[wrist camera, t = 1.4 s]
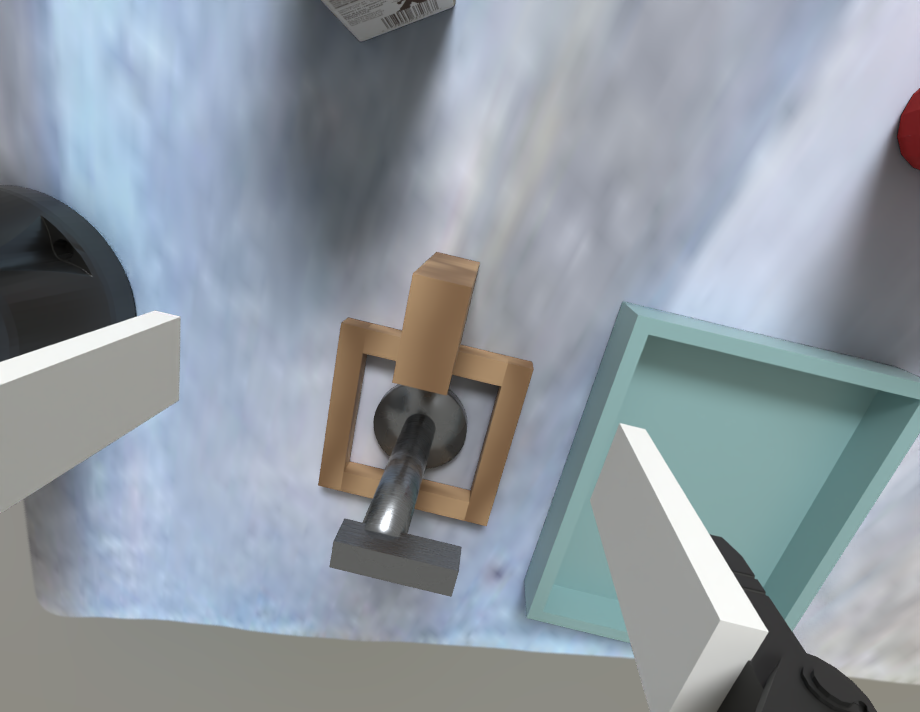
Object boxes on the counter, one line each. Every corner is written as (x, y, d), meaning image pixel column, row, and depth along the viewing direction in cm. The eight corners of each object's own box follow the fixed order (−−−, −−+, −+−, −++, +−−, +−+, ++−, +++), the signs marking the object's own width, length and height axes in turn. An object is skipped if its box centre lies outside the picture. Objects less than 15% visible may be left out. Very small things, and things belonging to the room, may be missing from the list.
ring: (324, 474, 38) (274, 554, 30) (360, 233, 32) (308, 248, 23) (486, 513, 38) (482, 605, 30) (556, 280, 31) (576, 312, 23)
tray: (524, 580, 40) (526, 617, 36) (622, 301, 32) (638, 314, 28) (740, 632, 40) (764, 675, 36) (896, 367, 31) (947, 389, 28)
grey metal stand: (370, 449, 37) (293, 601, 23) (385, 369, 35) (308, 485, 21) (462, 472, 37) (439, 637, 23) (483, 393, 35) (471, 525, 21)
